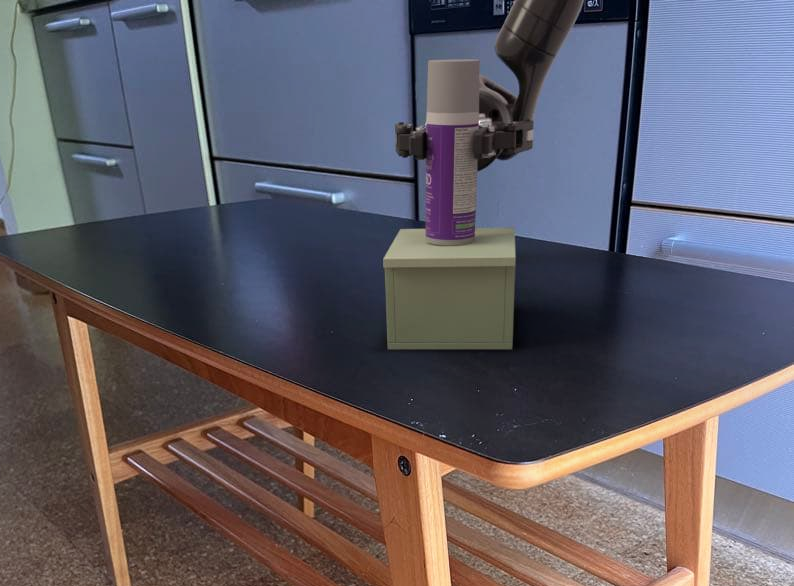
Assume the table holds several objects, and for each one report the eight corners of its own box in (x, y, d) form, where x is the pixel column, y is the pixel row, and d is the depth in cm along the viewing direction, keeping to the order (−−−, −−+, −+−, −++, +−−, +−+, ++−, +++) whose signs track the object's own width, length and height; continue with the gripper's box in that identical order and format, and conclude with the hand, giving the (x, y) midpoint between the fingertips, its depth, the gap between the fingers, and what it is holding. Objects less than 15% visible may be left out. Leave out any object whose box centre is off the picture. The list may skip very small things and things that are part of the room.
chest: (512, 351, 80) (515, 264, 77) (387, 351, 82) (384, 266, 78) (511, 312, 92) (514, 235, 88) (402, 313, 94) (400, 237, 90)
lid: (515, 266, 76) (515, 257, 76) (383, 268, 77) (383, 258, 77) (514, 235, 88) (514, 227, 88) (400, 237, 90) (400, 229, 89)
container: (415, 240, 83) (415, 60, 76) (452, 233, 86) (456, 59, 78) (447, 248, 80) (450, 61, 72) (485, 241, 82) (492, 59, 75)
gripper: (404, 91, 91) (367, 101, 76) (543, 86, 88) (532, 96, 73) (406, 169, 94) (371, 192, 80) (540, 167, 91) (528, 191, 77)
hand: (448, 146), depth 77 cm, fingers closed on container, 4 cm apart
